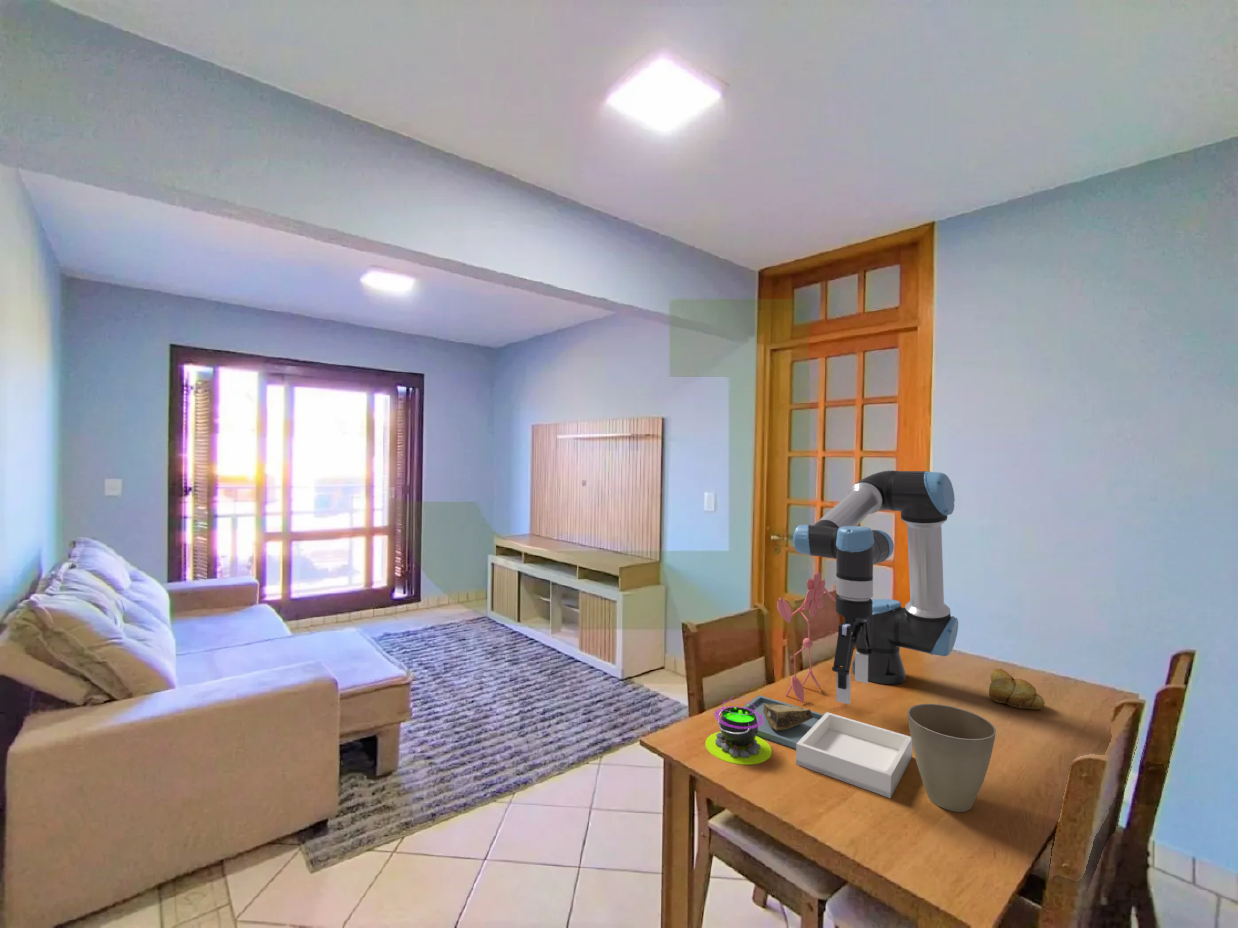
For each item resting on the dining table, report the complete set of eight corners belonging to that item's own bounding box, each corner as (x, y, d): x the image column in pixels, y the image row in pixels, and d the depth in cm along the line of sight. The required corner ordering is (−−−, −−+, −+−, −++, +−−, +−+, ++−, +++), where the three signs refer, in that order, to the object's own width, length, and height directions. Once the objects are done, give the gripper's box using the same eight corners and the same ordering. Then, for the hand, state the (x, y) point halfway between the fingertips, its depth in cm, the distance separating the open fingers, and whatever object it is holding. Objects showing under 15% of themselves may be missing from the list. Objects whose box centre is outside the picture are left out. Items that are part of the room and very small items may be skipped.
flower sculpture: (767, 703, 152) (770, 575, 152) (811, 678, 170) (813, 563, 170) (822, 723, 141) (825, 585, 141) (862, 694, 160) (865, 571, 159)
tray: (758, 700, 154) (758, 694, 154) (828, 721, 142) (828, 715, 142) (726, 725, 139) (726, 719, 139) (801, 751, 127) (801, 744, 127)
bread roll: (1048, 707, 153) (1048, 678, 153) (1038, 717, 147) (1038, 687, 147) (993, 692, 163) (994, 664, 163) (982, 701, 157) (982, 672, 157)
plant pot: (915, 770, 120) (917, 696, 120) (998, 798, 111) (1000, 718, 111) (896, 802, 109) (898, 720, 109) (987, 836, 99) (990, 747, 99)
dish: (826, 730, 138) (826, 711, 138) (911, 756, 126) (912, 737, 126) (795, 763, 122) (796, 743, 122) (890, 798, 110) (891, 775, 110)
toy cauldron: (693, 737, 133) (694, 691, 133) (747, 727, 139) (748, 683, 139) (727, 770, 119) (728, 719, 119) (785, 758, 125) (786, 709, 124)
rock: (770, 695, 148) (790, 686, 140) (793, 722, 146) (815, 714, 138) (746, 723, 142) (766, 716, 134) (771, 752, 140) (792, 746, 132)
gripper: (852, 583, 136) (851, 669, 137) (817, 606, 117) (816, 706, 117) (886, 588, 132) (884, 677, 132) (855, 612, 112) (853, 717, 113)
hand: (852, 691), depth 125 cm, fingers open, 13 cm apart
